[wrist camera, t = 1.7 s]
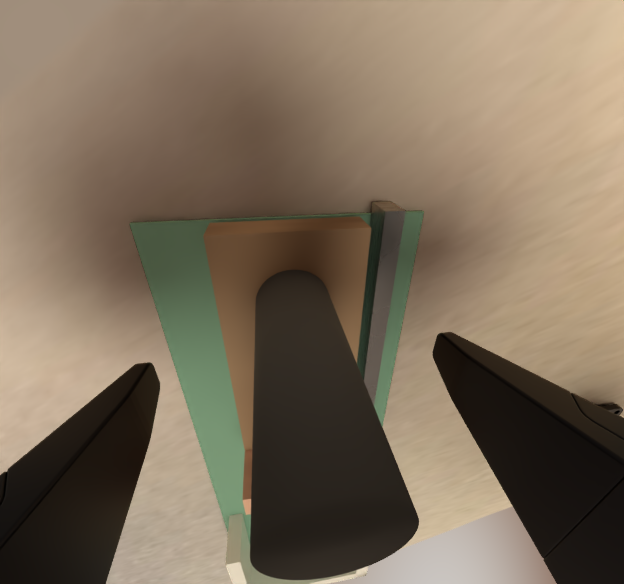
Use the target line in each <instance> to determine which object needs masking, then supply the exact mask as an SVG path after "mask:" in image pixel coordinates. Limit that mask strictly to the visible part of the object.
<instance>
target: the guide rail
mask: <svg viewBox="0 0 624 584" xmlns="http://www.w3.org/2000/svg"><path fill="white" fill-rule="evenodd" d="M405 213H406V210H404V209H402V208H401V207H399V206H398V205H396V204H394V203H393V202H391V201H384V202H372V210H371V220H370V227H371V235H370V244H369V254H368V263H367V273H366V282H365V291H364V301H363V310H362V320H361V329H360V338H359V348H358V357H357V365H358V368H359V370H360V373H361V375H362V378H363V380H364V383H365V385H366V388H367V390H368V393H369V395H370V398H371V400H372V403H373V405H374V403H375V397H376V391H377V385H378V379H379V372H380V366H381V360H382V354H383V348H384V342H385V336H386V329H387V323H388V317H389V311H390V305H391V299H392V292H393V286H394V280H395V274H396V268H397V262H398V256H399V249H400V243H401V237H402V231H403V225H404V219H405Z"/></svg>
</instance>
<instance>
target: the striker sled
mask: <svg viewBox="0 0 624 584" xmlns="http://www.w3.org/2000/svg"><path fill="white" fill-rule="evenodd" d="M370 235H371V227H370V226H369V225H368V224H367V223H366V222H365V221H364V220H363V219H362V218H361V217H360V216H358V217H335V218H312V219H288V220H265V221H242V222H218V223H209V225H208V227H207V229H206V231H205V233H204V235H203V238H204V243H205V248H206V253H207V259H208V264H209V269H210V274H211V279H212V284H213V289H214V295H215V300H216V305H217V310H218V315H219V320H220V326H221V331H222V336H223V341H224V346H225V351H226V357H227V362H228V367H229V372H230V377H231V382H232V388H233V393H234V398H235V403H236V408H237V413H238V419H239V424H240V429H241V434H242V439H243V444H244V449H245V456H244V478H243V504H244V509H245V513H246V515H249V514H251V528H250V562H251V564H252V566H253V567H254V568H255V569H256V570H257V571H258V572H260V573H262V574H264V575H266V576H269V577H272V578H277V579H284V580H312V579H321V578H327V577H333V576H337V575H341V574H345V573H349V572H352V571H355V570H358V569H361V568H364V567H367V566H369V565H372V564H374V563H376V562H378V561H380V560H382V559H384V558H386V557H388V556H390V555H391V554H393V553H395V552H396V551H397V550H399V549H400V548H402V547H403V546H404V545H405V544H406V543H407V542H408V541H409V540H410V539H411V538H412V537H413V536H414V534H415V533H416V531H417V529H418V525H419V519H418V515H417V513H416V510H415V508H414V505H413V503H412V500H411V498H410V495H409V493H408V490H407V488H406V485H405V483H404V480H403V478H402V475H401V473H400V470H399V468H398V465H397V463H396V460H395V458H394V455H393V453H392V450H391V448H390V445H389V443H388V440H387V438H386V435H385V433H384V430H383V428H382V425H381V423H380V420H379V418H378V415H377V413H376V410H375V408H374V405H373V403H372V400H371V398H370V395H369V393H368V390H367V388H366V385H365V383H364V380H363V378H362V375H361V373H360V370H359V368H358V365H357V357H358V348H359V338H360V329H361V320H362V310H363V301H364V291H365V282H366V273H367V263H368V254H369V244H370Z"/></svg>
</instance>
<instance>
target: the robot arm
mask: <svg viewBox="0 0 624 584" xmlns="http://www.w3.org/2000/svg"><path fill="white" fill-rule="evenodd" d="M433 358H434V361H435V363H436V365H437V368H438V370H439V372H440V374H441V377H442V379H443V381H444V383H445V386H446V388H447V390H448V392H449V395H450V397H451V399H452V401H453V402H454V404H455V406H456V408H457V410H458V411H459V413H460V415H461V417H462V418H463V420H464V422H465V424H466V425H467V427H468V429H469V431H470V432H471V434H472V436H473V438H474V439H475V441H476V443H477V445H478V446H479V448H480V450H481V452H482V453H483V455H484V457H485V459H486V460H487V462H488V464H489V465H490V467H491V469H492V471H493V472H494V474H495V476H496V478H497V479H498V481H499V483H500V485H501V486H502V488H503V490H504V492H505V493H506V495H507V497H508V499H509V500H510V502H511V504H512V506H513V507H514V509H515V511H516V513H517V514H518V516H519V518H520V519H521V521H522V523H523V525H524V527H525V528H526V530H527V532H528V534H529V535H530V537H531V539H532V541H533V542H534V544H535V546H536V547H537V549H538V551H539V553H540V554H541V556H542V557H543V558H544V562H545V564H546V565H547V567H548V569H549V571H550V572H551V574H552V576H553V578H554V579H555V581H556V583H557V584H624V418H623V417H621V416H619V415H620V414H621V412H622V411H623V409H622V408H621V407H620V406H618V405H617V404H613V405H606V406H598V405H595V404H593V403H591V402H589V401H587V400H585V399H583V398H581V397H579V396H577V395H575V394H573V393H570V392H569V391H567V390H565V389H563V388H561V387H559V386H557V385H555V384H553V383H551V382H550V381H548V380H546V379H544V378H542V377H540V376H538V375H536V374H534V373H532V372H530V371H528V370H526V369H524V368H522V367H520V366H518V365H516V364H514V363H512V362H510V361H508V360H506V359H504V358H502V357H500V356H498V355H496V354H494V353H492V352H490V351H488V350H486V349H484V348H482V347H480V346H478V345H476V344H474V343H472V342H470V341H468V340H466V339H464V338H462V337H460V336H458V335H456V334H454V333H452V332H445V333H439V334H438V335H437V338H436V342H435V345H434V349H433ZM159 392H160V382H159V379H158V376H157V374H156V371H155V368H154V366H153V364H152V363H149V362H148V363H138V364H135V365H134V366H133V367H131V368H130V369H129V370H128V371H127V372H125V373H124V374H123V375H122V376H120V377H119V378H118V379H117V380H116V381H114V382H113V383H112V384H111V385H109V386H108V387H107V388H106V389H105V390H103V391H102V392H101V393H100V394H99V395H97V396H96V397H95V398H94V399H92V400H91V401H90V402H89V403H88V404H86V405H85V406H84V407H83V408H81V409H80V410H79V411H78V412H77V413H75V414H74V415H73V416H72V417H71V418H69V419H68V420H67V421H66V422H64V423H63V424H62V425H61V426H60V427H58V428H57V429H56V430H55V431H54V432H52V433H51V434H50V435H49V436H47V437H46V438H45V439H44V440H43V441H41V442H40V443H39V444H38V445H36V446H35V447H34V448H33V449H32V450H30V451H29V452H28V453H27V454H26V455H24V456H23V457H22V458H21V459H19V460H18V461H17V462H16V463H15V464H13V465H12V466H11V467H10V468H9V469H8V471H7V472H4V473H2V474H1V475H0V584H106V581H107V578H108V574H109V571H110V568H111V565H112V561H113V558H114V555H115V552H116V549H117V545H118V542H119V539H120V536H121V533H122V529H123V526H124V523H125V520H126V516H127V513H128V510H129V507H130V504H131V500H132V497H133V494H134V491H135V488H136V484H137V481H138V478H139V475H140V471H141V468H142V465H143V462H144V459H145V455H146V452H147V449H148V445H149V442H150V438H151V433H152V428H153V423H154V418H155V413H156V407H157V402H158V397H159Z"/></svg>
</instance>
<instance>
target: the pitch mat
mask: <svg viewBox="0 0 624 584" xmlns="http://www.w3.org/2000/svg"><path fill="white" fill-rule="evenodd" d="M423 214H424V211H422V210H421V211H406V213H405V219H404V225H403V231H402V237H401V243H400V249H399V256H398V262H397V268H396V274H395V280H394V286H393V292H392V299H391V305H390V311H389V317H388V323H387V329H386V336H385V342H384V348H383V354H382V360H381V366H380V372H379V379H378V385H377V391H376V397H375V403H374V408H375V410H376V413H377V415H378V418H379V420H380V423H381V425H383V420H384V415H385V410H386V405H387V400H388V395H389V389H390V384H391V379H392V374H393V369H394V364H395V359H396V353H397V348H398V343H399V338H400V333H401V328H402V323H403V317H404V312H405V307H406V302H407V297H408V292H409V286H410V281H411V276H412V271H413V266H414V261H415V256H416V250H417V245H418V240H419V235H420V230H421V225H422V220H423ZM358 216H360V217H361V218H362V219H363V220H364V221H365V222H366V223H367V224H368V225H369V226H370V220H371V213H349V214H324V215H300V216H276V217H252V218H227V219H203V220H179V221H155V222H131V223H130V227H131V231H132V234H133V237H134V240H135V243H136V246H137V249H138V252H139V256H140V259H141V262H142V265H143V268H144V271H145V274H146V278H147V281H148V284H149V287H150V290H151V293H152V296H153V299H154V303H155V306H156V309H157V312H158V315H159V318H160V321H161V325H162V328H163V331H164V334H165V337H166V340H167V343H168V346H169V350H170V353H171V356H172V359H173V362H174V365H175V368H176V372H177V375H178V378H179V381H180V384H181V387H182V390H183V393H184V397H185V400H186V403H187V406H188V409H189V412H190V415H191V419H192V422H193V425H194V428H195V431H196V434H197V437H198V440H199V444H200V447H201V450H202V453H203V456H204V459H205V462H206V466H207V469H208V472H209V475H210V478H211V481H212V484H213V487H214V491H215V494H216V497H217V500H218V503H219V506H220V509H221V513H222V516H223V519H224V522H225V525H226V528H227V531H228V527H229V516H230V515H236V514H243V518H244V522H245V526H246V531H247V535H248V539H249V543H250V528H251V514H249V515H246V513H245V509H244V504H243V478H244V456H245V449H244V444H243V439H242V434H241V429H240V424H239V419H238V413H237V408H236V403H235V398H234V393H233V388H232V382H231V377H230V372H229V367H228V362H227V357H226V351H225V346H224V341H223V336H222V331H221V326H220V320H219V315H218V310H217V305H216V300H215V295H214V289H213V284H212V279H211V274H210V269H209V264H208V259H207V253H206V248H205V243H204V238H203V235H204V233H205V231H206V229H207V227H208V225H209V223H218V222H242V221H265V220H288V219H312V218H335V217H358Z"/></svg>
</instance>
